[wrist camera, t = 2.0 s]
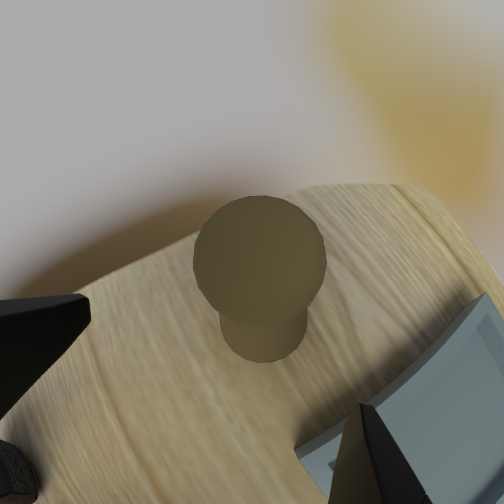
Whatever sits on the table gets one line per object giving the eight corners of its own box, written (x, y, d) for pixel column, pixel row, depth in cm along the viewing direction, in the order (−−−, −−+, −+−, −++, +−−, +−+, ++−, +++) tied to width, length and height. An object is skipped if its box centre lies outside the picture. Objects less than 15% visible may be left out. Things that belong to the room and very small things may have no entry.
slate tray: (394, 572, 7) (407, 586, 4) (293, 449, 14) (298, 459, 12) (530, 435, 10) (550, 433, 7) (466, 305, 18) (486, 291, 15)
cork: (228, 276, 21) (196, 169, 11) (309, 284, 20) (342, 180, 11) (213, 355, 18) (151, 308, 8) (302, 367, 17) (345, 332, 8)
